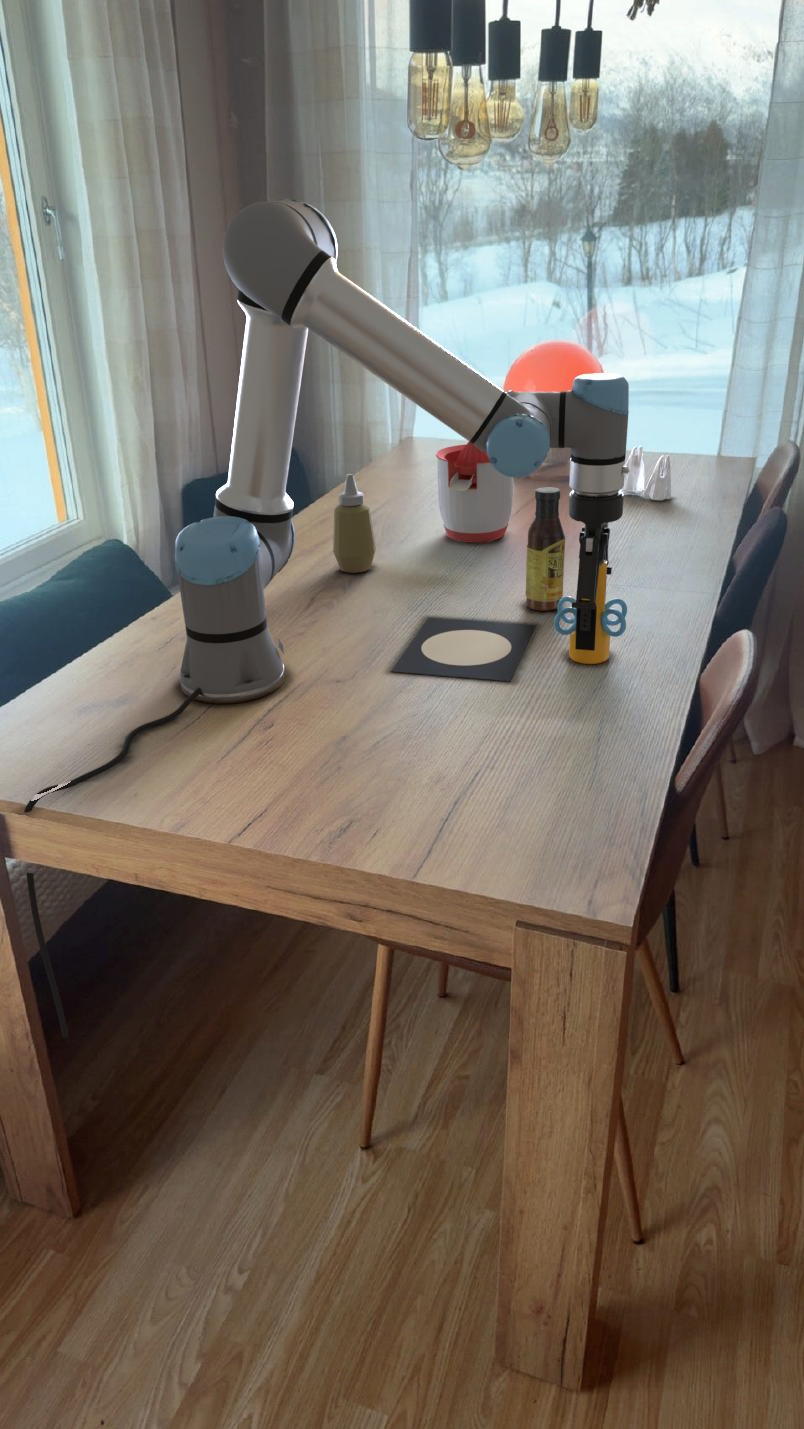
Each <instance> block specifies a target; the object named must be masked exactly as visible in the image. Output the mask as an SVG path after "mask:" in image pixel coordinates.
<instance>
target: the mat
mask: <svg viewBox="0 0 804 1429" xmlns="http://www.w3.org/2000/svg"><path fill="white" fill-rule="evenodd" d="M535 628H536V624H530V623H529V624H528V623H515V622H514V623H512V622H501V621H486V620H485V621H484V620H483V621H482V620H471V619H456V618H440V617H427V618H426V620H425V621H424V623H423V624H422V625H421V628H420V629H419V630H418V631H417V633H416V635H415V636H414V637H413V639H412V640H411V642H410V643H409V644H408V646H407V647H406V649H405V651H404V652H403V653H402V655H401V656H400V657H399V659H398V660H397V662H396V663H395V665H394V666H393V667H392V669H391V670H390V672H391V673H399V674H411V675H412V674H413V675H425V676H436V677H447V678H459V679H460V678H461V679H471V680H473V679H474V680H485V681H496V682H507V683H509V682H511V681H512V679H513V676H514V675H515V672H516V670H517V667H518V666H519V663H520V661H521V659H522V656H523V655H524V651H525V649H526V648H527V646H528V643H529V641H530V638H531V637H532V634H533V632H534V630H535Z"/></svg>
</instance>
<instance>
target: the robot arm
mask: <svg viewBox="0 0 804 1429" xmlns="http://www.w3.org/2000/svg"><path fill="white" fill-rule="evenodd" d="M334 230H335V229H334V228H333V226H332V225H331V222H330V221H329V220H328V218H327V217H326V216H325V214H323V213H322V212H321V211H320V210H319V209H318V208H316V207H314V206H313V205H311V204H309V203H307V202H304V201H300V200H298V199H290V198H281V199H276V200H270V201H269V200H268V201H267V200H266V201H258V202H254V203H251V204H249V205H247V206H245V207H244V208H242V209H240V211H238V212H237V213H236V214H235V215H234V217H233V218H232V219H231V221H230V222H229V224H228V226H227V228H226V231H225V234H224V236H223V237H224V238H223V242H222V256H223V261H224V262H223V263H224V266H225V269H226V271H227V273H228V276H229V278H230V279H231V281H232V283H233V284H234V285H235V286H236V287H237V296H236V297H237V298H236V301H237V304H238V305H239V306H240V308H241V309H242V310H243V312H244V313H245V316H246V319H245V328H244V336H243V346H242V354H241V364H240V372H239V380H238V390H237V398H236V407H235V416H234V424H233V435H232V441H231V451H230V457H229V458H230V459H229V468H228V477H227V482H226V483H225V484H223V485H222V486H221V487H220V488H218V489H217V490H216V493H215V499H214V508H213V509H214V510H213V516H212V517H208V518H204V519H201V520H200V521H198V522H192V523H190V524H188V525H187V526H186V527H184V528H183V529H182V530H180V532H179V533H178V535H177V536H176V538H175V542H174V552H175V553H174V566H175V568H176V573H177V579H178V585H179V587H178V588H179V594H180V599H181V606H182V613H183V620H184V626H185V632H186V641H185V646H184V650H183V651H184V652H183V655H182V661H181V666H180V673H179V681H180V689H181V691H182V693H183V694H184V695H185V696H187V698H186V699H184V701H183V702H182V703H181V704H180V706H179V707H178V708H176V709H175V711H173V712H172V713H171V712H170V714H168V715H166V716H164V717H161V718H158V719H155V720H152V721H149V722H146V723H144V724H141V725H139V726H137V727H135V728H134V729H133V730H132V731H131V732H129V733H128V734H127V736H126V737H125V739H124V742H123V746H122V748H121V750H120V752H119V753H118V754H117V755H116V756H115V757H114V758H112V759H111V760H109V761H108V762H106V763H105V764H103V765H101V766H99V767H97V768H95V769H92V770H91V771H88V772H86V773H84V774H82V775H79V776H78V777H75V778H73V779H71V780H70V781H71V782H70V783H68V784H67V785H65V786H63V787H61V788H59V789H57V790H55V791H53V792H51V793H48V794H46V795H44V796H42V797H41V798H39V799H37V800H34V801H31V799H29V801H28V803H27V804H26V806H25V808H24V811H23V813H26V814H27V813H30V812H32V811H33V809H34V807H35V806H36V804H37V803H38V802H39V801H40V800H41V799H42V798H44V797H45V796H47V795H49V794H52V793H55V792H59V791H63V790H67V789H70V788H73V787H75V786H77V785H79V784H81V783H83V782H86V781H88V780H90V779H92V778H94V777H96V776H98V775H100V774H102V773H104V772H106V771H108V770H110V769H111V768H114V766H116V765H118V764H119V763H120V762H122V761H123V759H125V757H126V756H127V754H128V752H129V751H130V750H129V749H130V746H131V743H132V741H133V740H134V738H135V737H136V736H138V735H139V734H140V733H142V732H144V731H146V730H149V729H152V728H154V727H157V726H160V725H163V724H166V723H168V722H170V721H172V720H174V719H176V718H177V717H179V716H180V715H181V714H182V713H183V712H184V711H185V710H186V709H187V708H188V706H189V705H191V703H192V702H193V701H194V700H195V701H199V702H203V703H207V704H237V703H242V702H248V701H252V700H256V699H259V698H262V697H264V696H265V697H266V696H267V695H269V694H271V693H273V692H274V691H276V690H277V689H278V688H280V687H281V686H282V685H283V684H284V681H285V680H286V675H285V664H284V663H283V659H282V657H281V654H280V653H279V651H278V648H279V650H280V651H281V652H282V654H284V653H285V651H284V644H283V643H282V641H281V640H280V638H277V641H278V642H277V643H278V648H277V646H276V644H275V642H274V640H273V637H272V636H271V634H270V631H269V629H268V620H267V611H266V601H265V600H266V599H265V589H266V588H267V587H268V585H269V584H270V583H271V582H272V580H273V579H274V578H275V577H276V576H277V574H279V573H280V572H281V571H282V570H283V569H284V567H286V566H287V564H288V562H289V560H290V559H291V556H292V554H293V551H294V547H295V542H296V531H295V526H294V523H293V513H294V505H295V504H294V501H293V499H292V498H291V497H290V496H289V495H288V493H287V492H286V490H287V484H288V477H289V469H290V464H291V463H290V461H291V455H292V448H293V443H294V442H293V440H294V435H295V434H294V433H295V427H296V419H297V412H298V405H299V399H300V398H299V397H300V392H301V384H302V376H303V370H304V363H305V357H306V349H307V342H308V335H309V330H310V331H311V332H312V333H313V334H315V335H317V336H319V338H321V339H322V340H324V341H325V342H327V343H328V344H330V345H331V346H332V347H334V348H336V350H339V351H340V352H341V353H343V354H344V355H345V356H347V357H348V358H349V359H351V360H352V361H354V362H355V363H357V364H358V365H360V367H362V368H363V369H365V370H367V371H368V372H369V373H371V374H372V375H374V376H376V378H378V379H380V380H381V381H382V382H384V383H385V384H387V385H388V386H389V387H391V388H392V389H394V390H395V391H396V392H398V393H400V394H401V395H402V396H404V397H405V398H407V399H408V400H409V401H411V402H412V403H414V404H415V405H417V406H418V407H419V408H420V409H422V410H423V411H425V412H426V413H428V415H429V414H430V415H431V416H432V417H433V418H435V419H436V420H438V421H439V422H440V423H442V424H444V425H445V426H447V427H448V428H449V429H451V430H452V431H454V432H455V433H457V435H459V436H461V437H462V438H464V439H465V440H466V441H468V442H471V443H472V444H473V445H475V446H476V447H477V448H479V449H480V450H481V451H483V452H484V453H486V454H487V456H488V458H489V460H490V462H491V464H492V465H493V467H494V468H495V469H496V470H497V471H498V472H500V473H501V474H503V475H505V476H508V477H513V479H514V478H516V479H518V478H523V477H524V478H525V477H528V476H529V475H531V474H533V473H535V472H536V471H537V470H538V469H539V468H540V467H541V466H542V465H543V463H544V462H545V460H546V459H547V457H548V453H549V451H550V449H565V448H566V449H567V448H569V449H570V459H569V482H568V483H569V485H568V486H569V488H570V490H571V491H570V492H569V498H568V499H569V500H568V516H569V517H570V518H571V519H572V520H574V521H576V522H581V523H583V524H584V526H581V531H579V535H578V536H579V537H578V542H579V552H578V560H579V561H578V573H577V585H576V594H575V595H576V597H575V600H576V602H575V603H574V602H572V603H571V607H572V608H574V609H575V608H577V618H576V645H575V649H579V650H593V651H594V650H595V634H596V613H597V606H596V594H597V585H598V576H599V567H600V564H602V563H603V562H604V560H606V561H607V574H606V581H607V579H608V575H610V576H611V575H612V570H613V567H611V566H608V565H609V564H610V562H609V544H610V535H611V528H610V527H609V523H613V522H617V521H619V520H620V519H621V518H622V517H623V514H624V499H625V498H624V497H625V494H624V493H625V492H624V491H621V489H622V488H623V487H624V474H628V473H629V470H630V469H629V467H625V465H626V457H627V456H626V454H627V441H628V428H629V412H630V411H629V408H630V407H629V401H630V400H629V392H630V389H629V388H630V387H629V386H630V384H629V382H628V380H627V379H626V378H625V377H624V376H622V375H620V374H617V373H609V372H595V373H584V374H579V375H578V376H576V377H575V378H574V379H573V382H572V385H571V386H572V387H571V390H570V389H569V390H566V391H515V390H507V391H504V390H503V389H501V387H499V386H498V385H496V384H495V383H493V382H492V380H489V379H488V378H487V377H485V376H484V375H482V374H481V373H479V372H478V371H477V370H476V369H475V368H472V366H470V365H468V364H467V363H466V362H464V361H462V359H460V358H459V357H458V356H456V355H455V354H454V353H452V352H450V351H449V350H447V349H446V348H444V347H443V346H442V345H441V344H439V343H438V342H437V341H435V340H433V339H432V338H431V337H429V336H428V335H426V333H424V332H422V331H421V330H420V329H418V328H417V327H415V326H414V325H413V324H411V323H410V322H408V321H407V320H406V319H404V318H403V317H401V316H400V315H398V314H397V313H396V312H395V311H393V310H392V309H390V308H389V307H388V306H386V305H385V304H383V303H382V302H381V301H379V300H378V299H376V298H375V297H373V296H372V295H371V294H370V293H369V292H367V291H365V290H364V289H363V288H361V287H360V286H358V285H357V284H355V283H354V282H353V281H352V280H350V279H349V278H347V277H346V276H344V275H343V274H341V273H340V272H339V270H338V268H337V260H338V252H339V248H338V241H337V240H338V239H337V236H336V233H335V231H334ZM606 595H607V593H606V594H605V601H606V600H607V598H606V597H607V596H606ZM582 599H589V600H582ZM57 786H58V784H54V785H51V786H48V787H45V788H42V789H41V790H39V791H38V792H36V794H41V793H44V792H47V791H49V790H51V789H52V788H55V787H57ZM34 876H35V875H34V873H33V872H27V871H26V881H27V890H28V897H29V903H30V908H31V910H30V911H31V914H32V920H33V925H34V930H35V933H36V939H37V942H38V946H39V950H40V954H41V957H42V961H43V965H44V968H45V973H46V976H47V979H48V983H49V986H50V991H51V994H52V998H53V1002H54V1006H55V1009H56V1013H57V1018H58V1022H59V1026H60V1030H61V1031H60V1032H61V1035H62V1036H61V1037H62V1038H63V1039H67V1038H69V1029H68V1027H67V1026H68V1025H67V1022H66V1016H65V1012H64V1009H63V1004H62V1000H61V996H60V992H59V988H58V984H57V981H56V978H55V974H54V970H53V967H52V964H51V960H50V955H49V952H48V949H47V944H46V940H45V936H44V932H43V927H42V923H41V918H40V912H39V906H38V901H37V894H36V887H35V878H34Z"/></svg>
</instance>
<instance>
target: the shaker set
mask: <svg viewBox="0 0 804 1429" xmlns="http://www.w3.org/2000/svg"><path fill="white" fill-rule="evenodd" d="M643 448H644V447H643V446H642V445H639V447H637V445H636V446H634V447H633V448H632V450H631V452H630V453H629V456H628V458H627V460H626V462H625V464H624V467H629V469H630V470H629V473H628V474H624V487H623V488H622V489H621V491H622V492H623V493H626V494H630V495H637V494H638V493H640V492H642V491H643V493H642V497H643V498H650V499H651V500H654V501H664V500H671V499H672V477H671V476H672V474H671V458H670V455H669V454H667V455H665V459H664V455H661V456H660V457H659V459H658V460H657V463H656V464H655V467H654V469H653V470H652V473H651V476H650V478H649V480H648V482H647V484H646V486H645V459H644V458H645V457H644V449H643ZM637 449H638V450H637Z"/></svg>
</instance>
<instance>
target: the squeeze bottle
mask: <svg viewBox="0 0 804 1429" xmlns="http://www.w3.org/2000/svg"><path fill="white" fill-rule="evenodd" d="M337 497H338V505H337V506H336V507H335V508H334V509H333V510H334V512H333V536H332V537H333V541H332V542H333V543H332V553H333V555H334V557H335V560H336V562H337V564H338V568H339V570H340V571H342V572H344V573H349V574H356V573H357V574H358V573H363V572H367V571H368V570H370V569H371V568H372V566H373V565H372V564H373V561H374V558H375V554H376V552H377V548H376V540H375V534H374V527H373V522H372V521H373V520H372V515H371V507H370V506H369V505H368V504H367V503H365V494H364V492H362V491H358V487H357V483H356V480H355V477H354V474H353V473H347V474H346V477H345V483H344V490H343V492H340V493H339V494H338V496H337Z"/></svg>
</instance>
